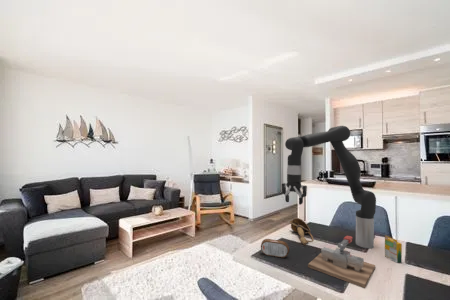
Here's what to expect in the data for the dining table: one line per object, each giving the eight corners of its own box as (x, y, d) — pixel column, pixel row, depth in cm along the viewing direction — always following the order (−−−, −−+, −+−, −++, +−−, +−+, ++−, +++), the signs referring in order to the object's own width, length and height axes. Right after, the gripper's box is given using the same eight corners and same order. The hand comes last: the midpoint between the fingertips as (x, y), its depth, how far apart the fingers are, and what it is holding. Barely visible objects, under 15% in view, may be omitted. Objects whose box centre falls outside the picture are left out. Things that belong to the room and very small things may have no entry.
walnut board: (324, 252, 125) (324, 249, 125) (375, 268, 108) (375, 265, 108) (308, 267, 109) (308, 264, 109) (364, 288, 93) (364, 284, 93)
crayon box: (402, 262, 114) (402, 240, 114) (397, 263, 114) (397, 240, 114) (389, 256, 121) (389, 234, 121) (384, 256, 121) (384, 235, 121)
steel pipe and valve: (324, 256, 117) (324, 244, 117) (364, 269, 105) (364, 256, 105) (320, 260, 113) (320, 248, 113) (361, 274, 100) (361, 260, 100)
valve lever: (346, 242, 120) (346, 235, 120) (352, 243, 118) (352, 236, 118) (337, 251, 109) (337, 243, 109) (344, 253, 107) (344, 245, 107)
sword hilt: (312, 223, 157) (292, 214, 159) (322, 235, 133) (297, 225, 135) (306, 236, 157) (286, 227, 159) (315, 251, 133) (291, 240, 135)
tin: (289, 256, 120) (289, 241, 120) (288, 259, 117) (288, 243, 117) (261, 252, 125) (261, 237, 125) (260, 255, 122) (260, 239, 122)
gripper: (309, 173, 122) (309, 204, 122) (285, 172, 132) (285, 200, 132) (303, 174, 116) (303, 206, 116) (279, 172, 126) (278, 202, 126)
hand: (293, 203), depth 124 cm, fingers open, 7 cm apart
